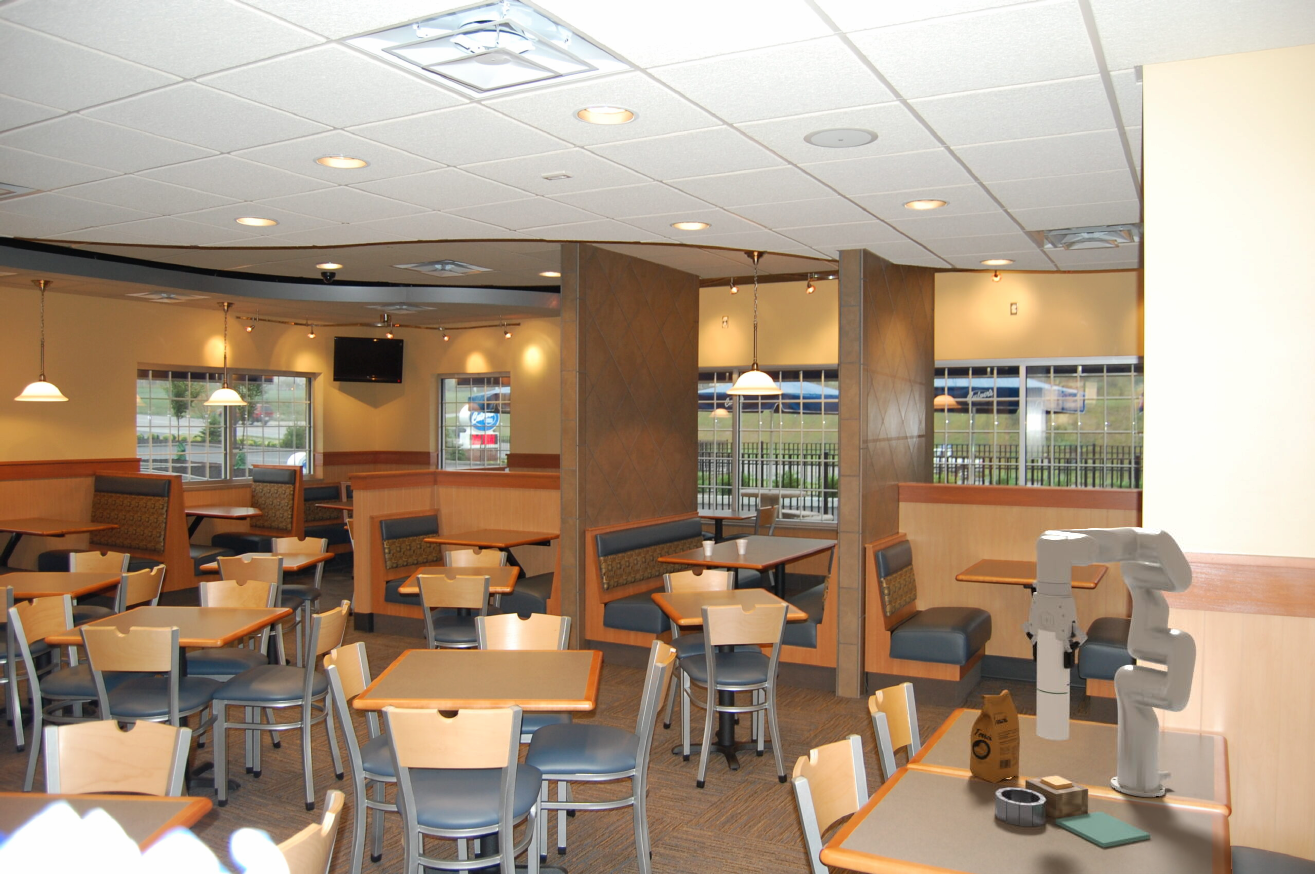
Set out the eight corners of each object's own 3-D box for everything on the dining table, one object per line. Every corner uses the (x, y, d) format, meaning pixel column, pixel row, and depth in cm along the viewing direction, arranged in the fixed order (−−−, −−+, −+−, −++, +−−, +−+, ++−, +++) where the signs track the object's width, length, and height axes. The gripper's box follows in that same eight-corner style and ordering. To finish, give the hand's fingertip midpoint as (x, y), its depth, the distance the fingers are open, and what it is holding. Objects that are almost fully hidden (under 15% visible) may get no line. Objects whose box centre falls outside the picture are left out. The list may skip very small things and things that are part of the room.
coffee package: (963, 773, 261) (964, 691, 261) (993, 765, 268) (995, 685, 268) (994, 785, 253) (995, 700, 253) (1024, 776, 259) (1026, 694, 259)
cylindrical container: (1073, 735, 229) (1074, 629, 229) (1062, 742, 224) (1063, 633, 224) (1043, 728, 234) (1044, 624, 234) (1031, 735, 229) (1032, 629, 228)
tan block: (1056, 797, 240) (1056, 775, 240) (1072, 805, 236) (1072, 782, 236) (1040, 800, 239) (1040, 778, 239) (1056, 807, 234) (1056, 785, 234)
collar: (1021, 805, 239) (1022, 785, 239) (1055, 822, 229) (1055, 801, 229) (985, 811, 235) (986, 790, 235) (1018, 829, 225) (1018, 807, 225)
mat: (1100, 815, 233) (1100, 811, 233) (1150, 838, 220) (1150, 833, 220) (1055, 823, 228) (1055, 819, 228) (1103, 847, 215) (1103, 842, 215)
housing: (1056, 798, 244) (1056, 774, 244) (1087, 813, 234) (1088, 788, 234) (1025, 804, 240) (1025, 779, 240) (1055, 819, 231) (1056, 793, 231)
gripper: (1011, 585, 233) (1011, 659, 234) (1079, 596, 219) (1079, 674, 219) (1030, 582, 238) (1030, 655, 238) (1097, 592, 224) (1097, 669, 224)
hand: (1053, 663), depth 229 cm, fingers closed on cylindrical container, 7 cm apart
